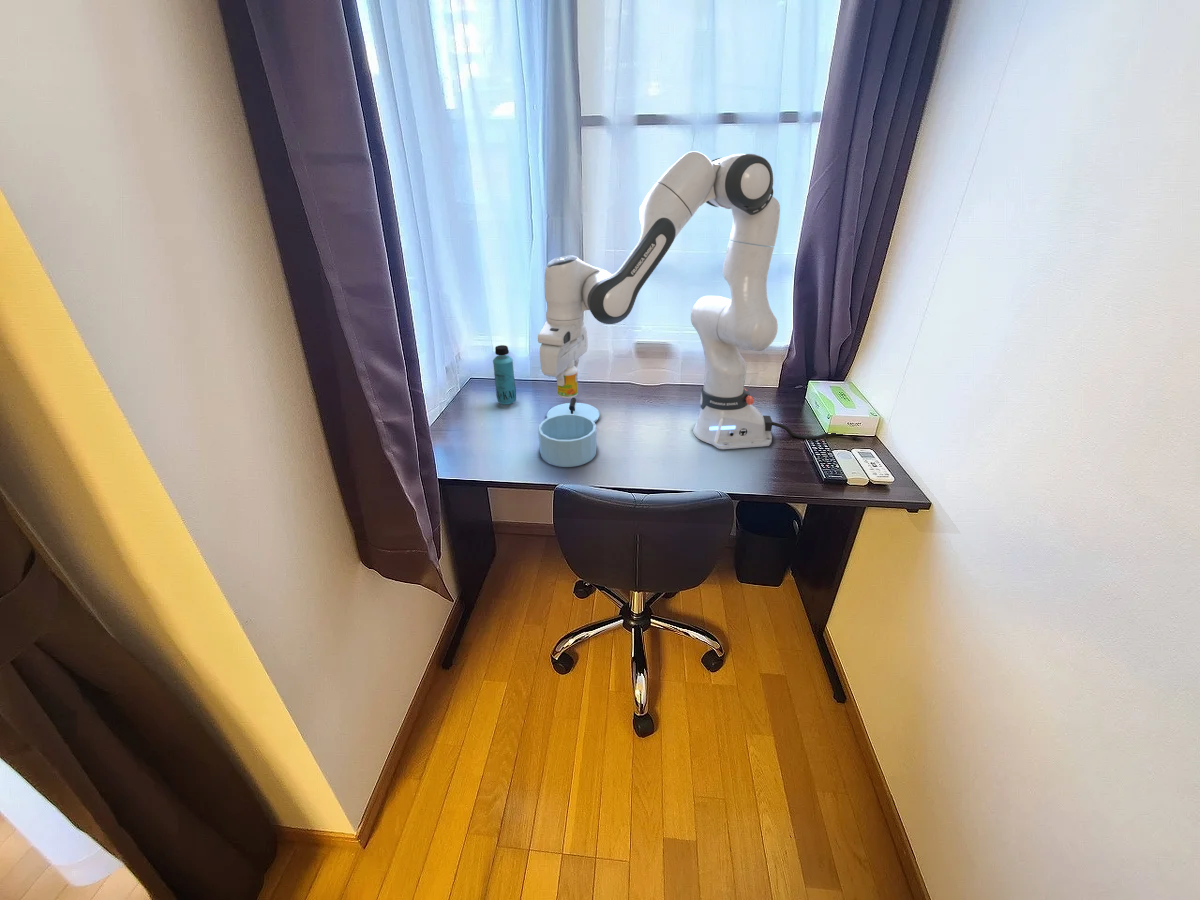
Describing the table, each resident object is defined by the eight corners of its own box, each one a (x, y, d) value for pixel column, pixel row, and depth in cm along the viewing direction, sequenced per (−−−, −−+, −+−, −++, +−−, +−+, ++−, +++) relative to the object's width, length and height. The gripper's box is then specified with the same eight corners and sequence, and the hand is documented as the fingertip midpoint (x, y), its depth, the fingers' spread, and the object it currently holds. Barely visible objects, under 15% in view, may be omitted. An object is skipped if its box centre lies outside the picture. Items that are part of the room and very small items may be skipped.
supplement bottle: (555, 398, 130) (553, 362, 125) (560, 389, 135) (558, 355, 130) (575, 399, 129) (574, 363, 124) (579, 390, 134) (578, 356, 129)
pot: (598, 438, 147) (597, 414, 143) (594, 467, 134) (593, 442, 130) (545, 437, 148) (543, 413, 144) (536, 466, 135) (533, 440, 131)
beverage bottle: (499, 399, 170) (492, 342, 160) (519, 400, 170) (513, 343, 160) (495, 408, 165) (488, 350, 154) (515, 408, 165) (509, 350, 154)
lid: (601, 406, 166) (600, 391, 163) (597, 430, 152) (597, 414, 149) (551, 405, 167) (550, 389, 164) (542, 429, 153) (541, 413, 150)
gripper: (571, 314, 132) (572, 364, 139) (533, 338, 116) (537, 393, 123) (593, 317, 130) (593, 367, 137) (558, 341, 114) (561, 397, 121)
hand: (567, 379), depth 130 cm, fingers closed on supplement bottle, 5 cm apart
